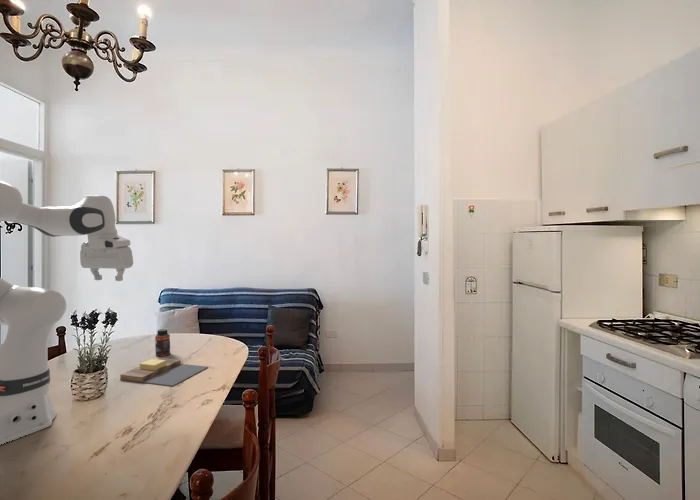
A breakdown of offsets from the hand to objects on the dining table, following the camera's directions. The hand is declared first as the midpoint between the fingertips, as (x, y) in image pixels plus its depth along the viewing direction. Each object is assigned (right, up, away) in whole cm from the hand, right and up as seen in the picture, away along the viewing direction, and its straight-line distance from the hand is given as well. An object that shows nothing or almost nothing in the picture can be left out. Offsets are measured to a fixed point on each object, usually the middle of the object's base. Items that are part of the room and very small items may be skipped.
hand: (108, 280), depth 134 cm
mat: (+19, -37, +11) cm, 43 cm away
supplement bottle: (+2, -37, +35) cm, 51 cm away
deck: (+8, -37, +14) cm, 40 cm away
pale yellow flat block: (+9, -35, +14) cm, 39 cm away
